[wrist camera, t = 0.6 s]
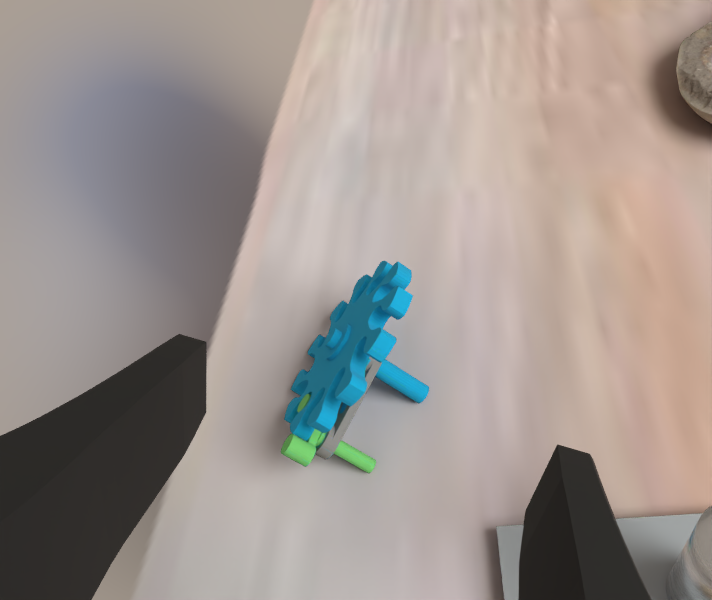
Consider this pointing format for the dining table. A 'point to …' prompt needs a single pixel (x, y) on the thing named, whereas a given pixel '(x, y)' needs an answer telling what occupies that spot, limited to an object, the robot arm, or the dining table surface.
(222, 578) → the dining table surface
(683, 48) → the fossil
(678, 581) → the pin
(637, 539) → the board
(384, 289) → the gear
